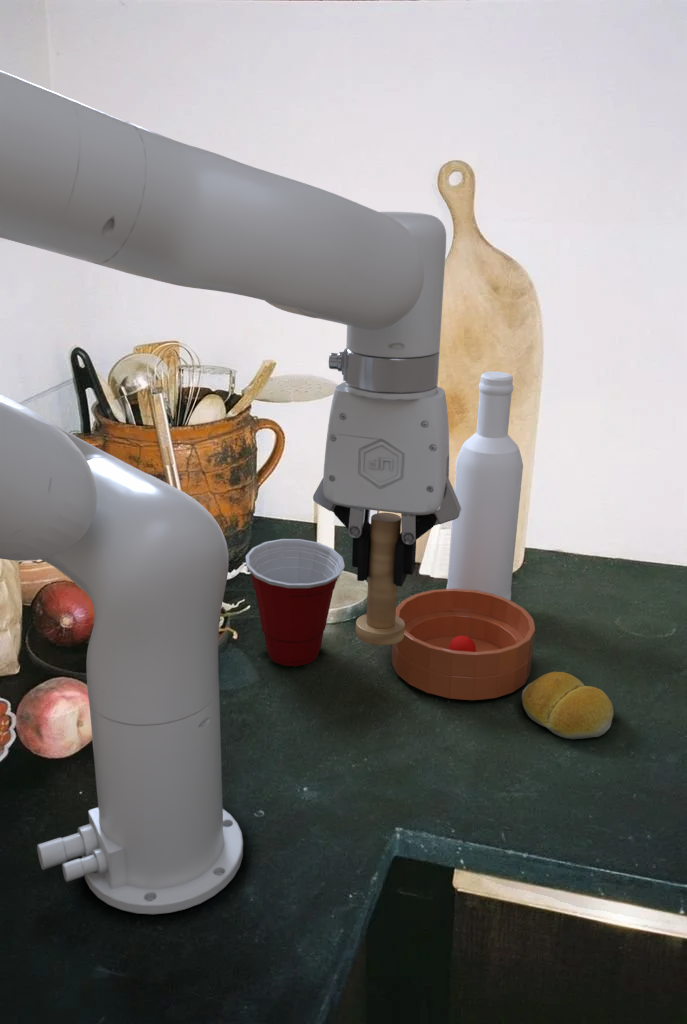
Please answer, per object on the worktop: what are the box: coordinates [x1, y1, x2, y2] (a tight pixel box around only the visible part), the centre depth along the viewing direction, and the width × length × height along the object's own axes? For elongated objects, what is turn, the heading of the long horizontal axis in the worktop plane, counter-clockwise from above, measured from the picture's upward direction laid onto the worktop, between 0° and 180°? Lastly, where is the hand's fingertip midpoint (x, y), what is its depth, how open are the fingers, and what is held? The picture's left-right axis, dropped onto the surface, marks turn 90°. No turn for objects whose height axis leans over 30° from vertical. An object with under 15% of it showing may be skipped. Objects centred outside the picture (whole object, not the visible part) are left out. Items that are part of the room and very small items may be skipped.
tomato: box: [449, 636, 476, 652], centre depth 104 cm, size 3×3×3 cm
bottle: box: [445, 371, 524, 601], centre depth 111 cm, size 8×8×30 cm
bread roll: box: [521, 671, 614, 740], centre depth 95 cm, size 8×9×4 cm
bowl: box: [391, 588, 536, 701], centre depth 103 cm, size 15×15×6 cm
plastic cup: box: [245, 538, 346, 667], centre depth 104 cm, size 11×11×12 cm
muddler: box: [355, 512, 405, 646], centre depth 83 cm, size 4×4×11 cm
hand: (383, 575), depth 83 cm, fingers closed on muddler, 2 cm apart
